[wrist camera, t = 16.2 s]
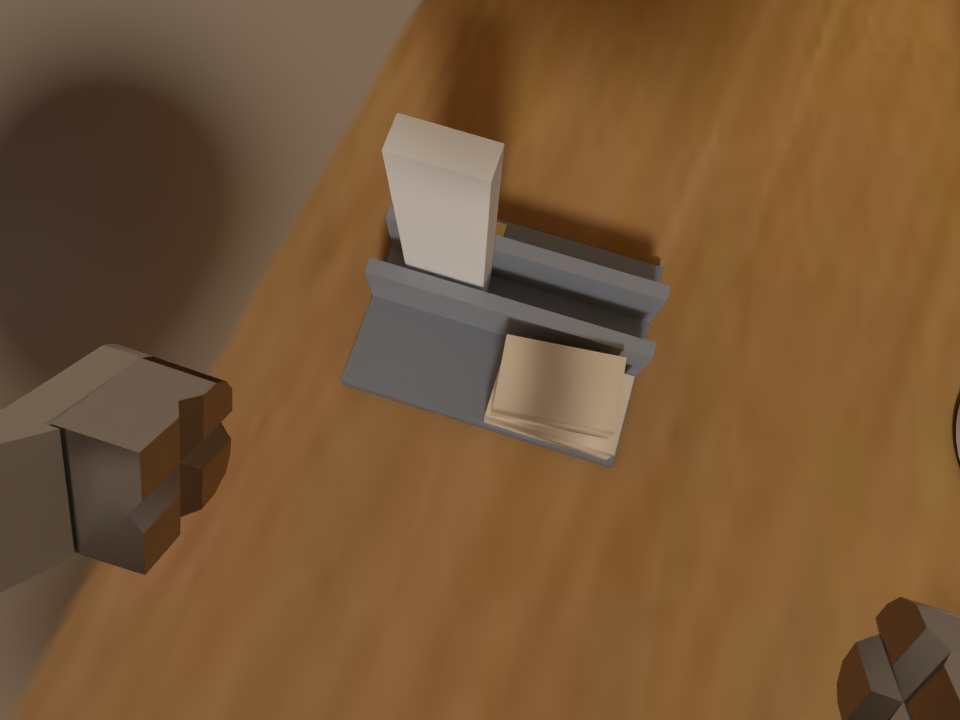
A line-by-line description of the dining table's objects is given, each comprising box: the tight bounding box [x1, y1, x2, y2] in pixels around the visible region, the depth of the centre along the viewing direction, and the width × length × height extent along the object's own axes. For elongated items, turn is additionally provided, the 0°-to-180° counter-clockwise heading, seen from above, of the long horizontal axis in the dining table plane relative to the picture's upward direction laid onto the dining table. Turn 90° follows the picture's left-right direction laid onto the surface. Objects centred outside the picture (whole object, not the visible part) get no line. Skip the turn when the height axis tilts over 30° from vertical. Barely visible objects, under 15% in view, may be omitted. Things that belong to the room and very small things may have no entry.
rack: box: [341, 204, 671, 468], centre depth 43 cm, size 18×14×5 cm
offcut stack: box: [484, 334, 635, 460], centre depth 41 cm, size 8×5×5 cm, turn 73°
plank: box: [382, 113, 505, 292], centre depth 37 cm, size 5×2×16 cm, turn 73°
